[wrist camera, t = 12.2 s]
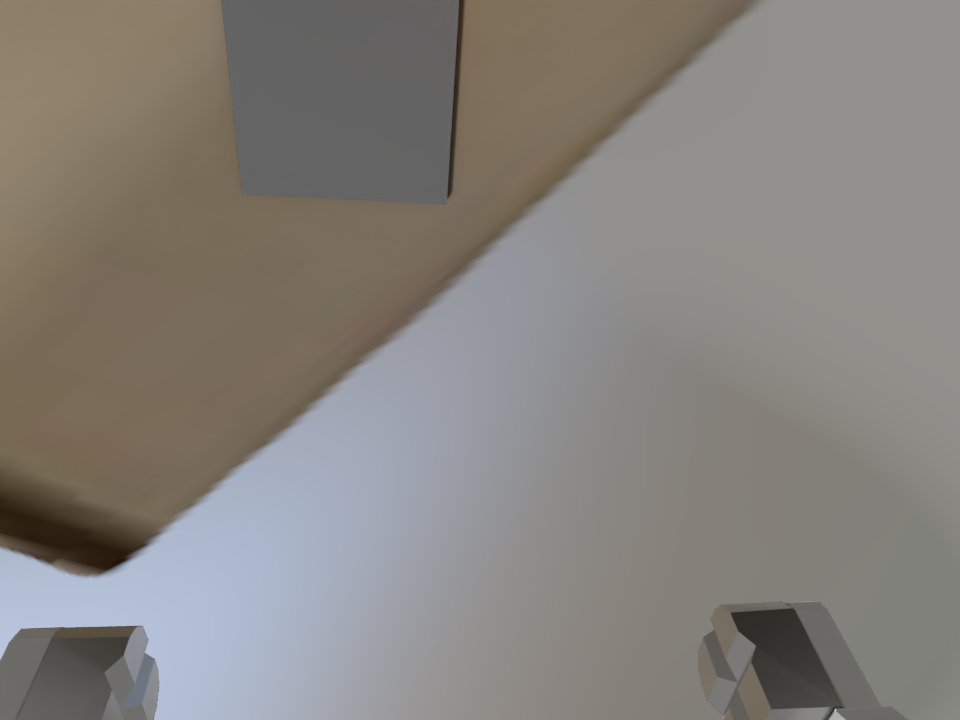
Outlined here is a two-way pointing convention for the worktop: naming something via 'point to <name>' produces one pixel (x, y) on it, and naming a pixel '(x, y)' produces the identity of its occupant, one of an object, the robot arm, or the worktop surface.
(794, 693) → the robot arm
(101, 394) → the worktop surface
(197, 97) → the worktop surface
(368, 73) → the mat
